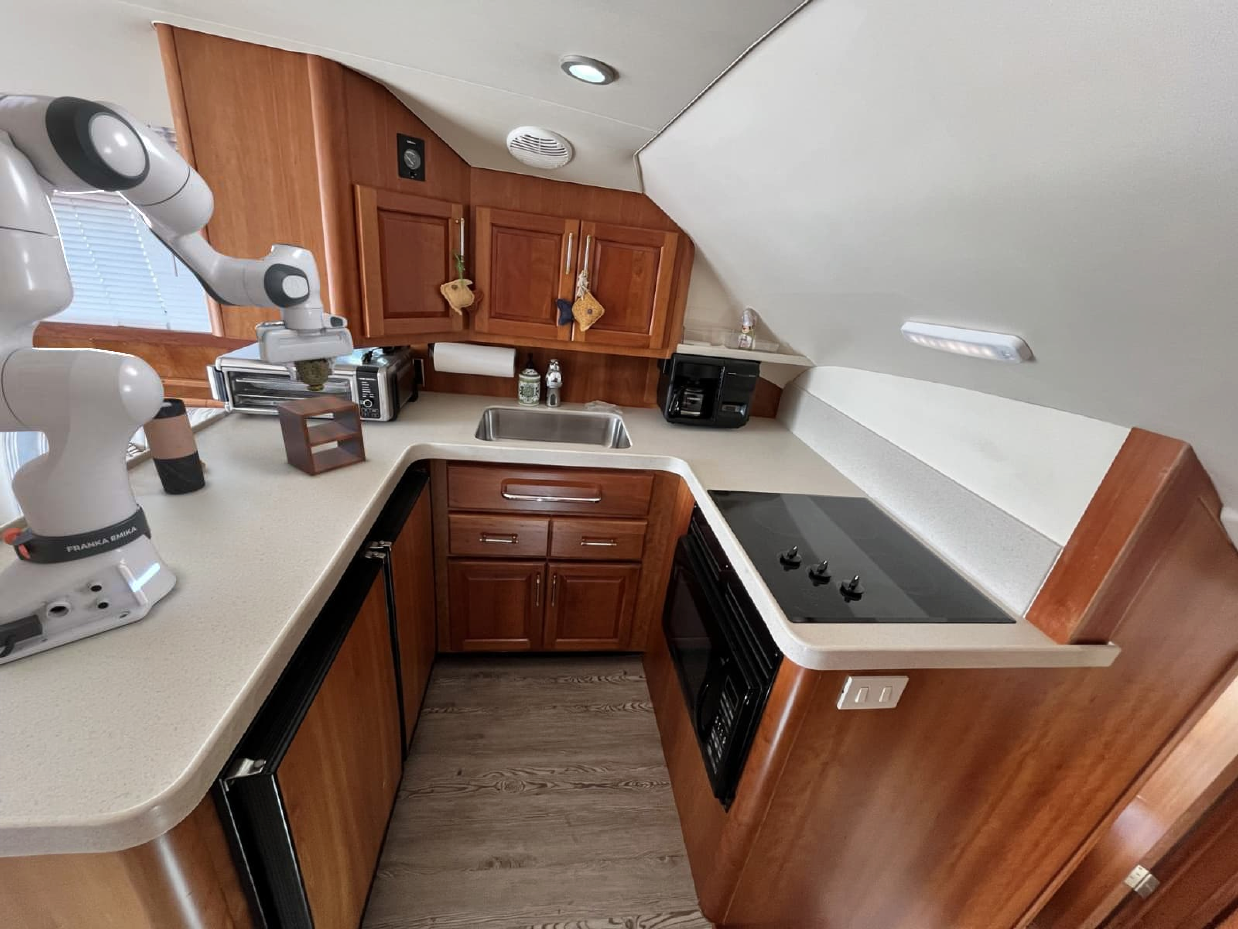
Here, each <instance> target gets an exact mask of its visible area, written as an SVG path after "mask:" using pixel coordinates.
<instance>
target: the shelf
mask: <svg viewBox="0 0 1238 929" xmlns="http://www.w3.org/2000/svg"><path fill="white" fill-rule="evenodd" d="M275 405H276V410H277V415H278V419H279V425H280V430H281V434H282V435H281V436H282V439H283V444H284V450H285V455H286V460H287V463H288V465H290V466H293V467H294V468H296V469H298V470H300V471H302V472H303V473H305V474H307V475H308V476H311V477H314V476H319V475H322V474H325V473H329V472H333V471H336V470H340V469H343V468H346V467H350V466H353V465H357V464H360V463H363V462H367V457H366V450H365V443H364V442H365V441H364V436H363V435H364V434H363V428H362V421H361V413H360V404H359V403H357V402H355V401H352V400H349V399H347V398H344V397H342V396H339V395H338V394H337V395H336V394H326V395H321V396H315V397H309V398H303V399H298V400H291V401H285V402H279V403H275ZM328 414H332V418H333V421H329V422H324V423H321V424H315V425H311V426H308V422H307V418H312V417H317V416H322V415H323V416H324V415H328ZM334 442H336V444H337V445H336V447H333V448H330V449H329V448H328V449H325V450H320V451H317V452H313V450H312V448H314V447H318V446H323V445H327V444H330V443H334Z"/></svg>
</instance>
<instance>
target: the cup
mask: <svg viewBox="0 0 1238 929" xmlns="http://www.w3.org/2000/svg"><path fill="white" fill-rule="evenodd" d="M293 366H294V368H295V371H296V372H299V373H300V378H301V379H300V380H299V381H300V382H301V383H302V384H305V385H306V389H307V390H308V391H310V392H321V391H323V390H324V389H325V385H324V384H325V383H327V381H328V380H329V377H330V376H329V358H322V359H313V360H303V361H294V362H293Z"/></svg>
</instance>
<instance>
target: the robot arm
mask: <svg viewBox="0 0 1238 929" xmlns="http://www.w3.org/2000/svg"><path fill="white" fill-rule="evenodd" d="M55 192H60V193H64V194H87V193H98V192H99V193H100V192H109V193H118V194H119V196H121V197H122V198H123V199H124V200H126V202H128V203H129V204H130V205H132V207H133V208H135V209H136V210H137V211H138V214H139V218H140V219H141V221H142V223H143V224H144V225H145V227H146V228H147V229H148V231H149V232H150V233H151V234H152V235H153V236H154V237H155V238H156V239H157V240H158V241H159V242H160V243H161V244H162V245H163V246H164V247H165V248H166V249H167V250H168V251H169V252H170V253H171V254H172V255H174V256H175V258H177V259H178V260H179V261H180V262H181V263H182V264H183V265H184V266H185V267H186V268H187V269H188V270H189V271H190V272H191V273H192V274H193V276H195V279H197V281H198V282H199V284H200V285H201V287H202V288H203V289H204V291H205V292H206V294H207V295H208V296H209V297H210V298H211V299H212V300H214V301H215V302H216V303H217V304H220V305H223V306H226V307H252V308H253V307H254V308H263V309H264V308H266V309H267V308H268V309H278V310H279V312H280V317H281V320H272V321H267V320H264V321H261V322H260V323H258V324H257V325H256V326H255V329H254V330H255V336H256V339H257V340H258V353H259V354H258V355H259V358H260V359H261V360H262V361H263V362H264V363H267V364H270V365H275V364H282V366H283V367H284V369H286V371H287V372H288V373H289V376H290V380H291V381H301V380H300V379H301V378H300V373H299V372H297V371H296V370H294V368H292V367H294V361H303V360H313V359H322V358H326V359H327V358H329V376H328V377H330V376H335V367H336V366H337V363H338V358H341V357H349V356H352V355H353V353H354V352H355V351H354V342H353V337H352V334H351V331H350V329H348V328H347V326H348V320H347V318H345V317H343V316H339V315H335V314H333V313H331V312H326V311H325V308H324V304H323V301H322V298H321V288H322V287H321V286H322V285H321V280H320V275H319V271H318V267H317V263H316V260H315V257H314V254H313V253H312V251H311V250H309V249H307V248H306V247H303V246H300V245H294V244H290V243H275V244H272V246H271V251H270V253H269V254H267V255H266V256H264V257H262V258H260V259H251V258H240V257H233V256H229V255H225V254H223V253H220V252H219V251H216V249H214V248H213V247H212V245H210V243H208V241H206V239H205V238H204V237H203V236H202V235H201V233H199V231H201V230H202V229H204V227H206V225H207V224H209V221H210V220H211V219H212V216H213V213H214V210H215V200H214V196H213V192H212V190H211V189H210V187H209V186H208V184H207V182H206V181H205V180H204V179H203V178H202V176H201V174H199V173H198V172H197V171H196V169H194V168H193V167H192V166H191V165H190V164H189V163H188V161H186V160H185V158H183V156H181V154H180V153H178V151H176V150H175V148H174V147H173V146H171V145H170V144H169V143H168V142H167V141H166V140H165V139H164V138H163V137H161V135H159V134H158V133H157V132H156V131H155V130H153V129H152V128H151V127H150V126H149V125H147V124H146V123H145V122H144V121H142V120H141V119H140V118H138V117H137V116H136V115H134V114H133V113H132V112H130V111H129V110H127V109H126V108H124V107H123V106H121V105H118V104H116V103H113V102H110V101H104V100H88V99H85V98H81V97H77V96H70V95H69V96H67V95H64V96H49V95H43V94H29V93H25V92H20V91H19V92H17V91H14V92H13V91H11V92H0V433H23V432H24V433H25V432H40V433H43V434H44V436H45V437H46V439H47V444H48V451H46V452H44V453H42V454H40V455H38V456H36V457H33V458H32V459H30V460H28V461H27V462H26V463H24V464H23V465H21V466H20V467H19V468H18V469H17V471H16V472H15V473H14V475H13V477H12V480H11V490H12V492H13V494H14V497H15V499H16V502H17V503H18V506H19V507H20V510H21V512H22V515H23V517H24V519H25V521H26V523H27V525H28V527H27V528H26V529H25V530H24V531H23V529H21V528H20V529H19V528H18V527H11V528H7V529H6V530H4V531H3V533H1V539H3V541H4V543H5V544H7V545H9V546H12V547H13V550H14V552H15V554H16V556H17V558H15V560H13V561H12V562H11V563H10V564H9V565H7V566H6V567H5V568H4V569H3V570H1V571H0V665H2V664H3V665H4V664H6V663H9V662H12V661H16V660H19V659H21V658H22V659H23V658H25V657H29V656H31V655H35V654H37V653H41V652H44V651H47V650H51V649H53V648H56V647H58V646H63V645H65V644H68V643H72V642H74V641H77V640H80V639H84V638H87V637H90V636H94V635H97V634H100V633H103V632H105V631H109V630H112V629H115V628H118V627H121V626H124V625H128V624H131V623H134V622H137V621H139V620H141V619H143V618H144V617H146V616H147V615H148V613H149V612H150V610H151V609H152V607H153V606H154V605H155V604H156V603H158V602H159V601H160V600H162V599H163V598H164V597H165V596H167V595H168V594H169V593H170V592H171V591H172V590H173V588H174V587H175V586H176V583H177V576H176V574H175V573H174V572H173V571H172V569H170V567H169V566H168V565H167V564H166V563H165V561H164V560H163V558H162V557H161V555H160V554H159V551H158V549H157V548H156V546H155V545H154V542H153V540H152V533H151V531H152V530H151V527H150V523H149V521H148V518H147V515H146V512H145V510H143V507H142V506H140V504H139V503H138V502H137V500H136V498H135V495H134V491H133V488H132V484H131V480H130V477H129V472H128V467H127V453H128V448H129V446H130V443H131V441H132V439H133V437H135V435H136V433H137V432H138V431H140V429H141V428H143V425H145V424H146V423H147V422H149V421H150V420H151V419H153V418H154V417H155V416H156V414H157V413H158V412H159V410H160V408H161V407H162V404H163V400H164V398H165V388H164V385H163V381H162V379H161V378H160V376H159V374H158V372H157V371H156V370H155V369H154V368H153V367H152V366H151V365H150V364H149V363H148V362H147V361H146V360H144V359H142V358H141V357H139V356H136V355H132V354H126V353H123V352H122V353H121V352H115V351H109V350H104V349H103V350H102V349H96V348H62V347H61V348H60V347H59V348H57V347H56V348H54V347H49V348H47V347H39V348H38V347H34V342H33V341H34V333H35V330H36V328H37V327H38V325H39V324H40V323H42V321H43V320H46V319H49V318H51V317H54V316H56V315H58V314H60V313H62V312H64V311H65V310H66V309H68V308H69V307H70V305H71V304H72V302H73V299H74V296H75V291H74V287H73V282H72V277H71V274H70V269H69V266H68V262H67V257H66V253H65V249H64V245H63V240H62V237H61V233H60V228H59V225H58V221H57V219H56V216H55V213H54V210H53V208H52V205H51V203H52V197H53V196H54V193H55Z"/></svg>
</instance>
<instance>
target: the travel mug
mask: <svg viewBox="0 0 1238 929" xmlns="http://www.w3.org/2000/svg"><path fill="white" fill-rule="evenodd" d="M142 429H143V433H144V436H145V439H146V442H147V445H148V448H149V449H148V450H149V452H150V455H151V458H152V461H153V464H154V466H155V469H156V471H157V475H158V477H159V480H160V483H161V485H162V488H163V490H164V492H165V494H167V495H175V496H177V495H186V494H191V493H194V492H197V491H199V490H201V489H203V488H204V487H205V486H206V480H205V479H206V478H205V476H204V470H202V466H201V462H200V460H201V458H200V454H199V450H198V446H197V442H196V439H195V436H194V432H193V429H192V426H191V423H190V419H189V414H188V411H187V408H186V405H185V401H184V400H183V399H181V398H175V397H164V400H163V404H162V407H161V408H160V410H159V412H158V413H157V414H156V416H155V417H154V418H153V419H151V420H150V421H149V422H147V423H146V424H145V425H143V426H142Z"/></svg>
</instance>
